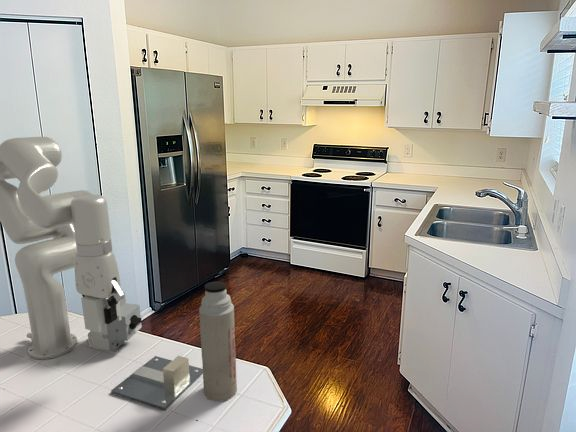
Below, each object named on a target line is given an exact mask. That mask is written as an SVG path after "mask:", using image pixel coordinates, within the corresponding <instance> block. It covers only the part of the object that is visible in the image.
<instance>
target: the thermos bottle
mask: <svg viewBox="0 0 576 432" xmlns="http://www.w3.org/2000/svg"><path fill="white" fill-rule="evenodd" d="M204 290H205V292H204V293H205V294H204V296H202V299H201V302H200V304H201V305H200V307H199V309H198V311H199V313H198V314H199V315H198V316H199V329H200V330H199V332H200V345H201V347H200V348H201V361H202V369H203V374H202V380H203V382H202V383H203V395H204V396H205V398H206V399H207V400H209V401H211V402H215V403H216V402H224V401H228V400H230V399H232V398H233V397H234V396H235V395H236V393H237V391H238V390H237V389H238V387H237V385H238V384H237V382H238V381H237V361H236V360H237V357H236V334H235V333H236V329H235V328H236V326H235V306H234V304H233V303H232V299H231V295H230V294H227V283H225V282H224V281H211V282H207V283H205V284H204Z"/></svg>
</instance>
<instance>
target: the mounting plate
mask: <svg viewBox="0 0 576 432" xmlns="http://www.w3.org/2000/svg"><path fill="white" fill-rule="evenodd" d="M189 363H190V362H189V357H185V356H182V355H177V356H176V357H175V358H174V359H173V360H172V359H169V358H164V357H160V356H157V355H155V356H154V357H152V358H150V359H149V360H148V361H147V362H146V363H145V364H143V365H141V366H140V367H138V369H136V370H135V371H134V372H132V374H130V375H129V376H128V377H126V378H125V379H124V380H123V381H121V382H120V383H119V384H117V385H116V386H114V388H112V389H111V390H110V393H111V394H113V395H116V396H119V397H122V398H125V399H128V400H131V401H134V402H138V403H140V404H144V405H146V406H149V407H151V408H155V409H159V410H160V411H161V410H162V411H164V412H165V411H166V410H168V408H170V407H171V405H173V404H174V403H175V402H176V401H177V400H178V399H179V398H180V397H181V396H182V394H184V393H185V392H186V391H187V390H188V389H189V388H190V387H191V386H192V385H193V384H194V383H195V382H196V381H197V380H198V379H199V378H200V377H201V376H203V368H201V367H196V366H193V365H190V364H189Z"/></svg>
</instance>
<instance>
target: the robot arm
mask: <svg viewBox="0 0 576 432" xmlns="http://www.w3.org/2000/svg"><path fill="white" fill-rule="evenodd" d="M62 156H63V155H62V149H61V147H60V145H59V144H58V142H56V140H54V139H53V138H50V137H48V136H30V137H14V138H13V137H12V138H9V139H6V140H4V141H3V142H2V143H0V223H1V226H2V227H3V229H4V232H5V233H6V235H7V236H8V238H9V240H10V241H11V242H13V243H14V244H17V245H25V244H28V245H25V246H23V247H22V248H20V249H19V250H18V251H17V252H16V253H15V256H14V263H15V267H16V270H17V272H18V274H19V277H20V280H21V281H20V282H21V284H22V288H23V291H24V292H23V293H24V297H25V303H26V308H27V313H28V321H29V326H30V327H29V328H30V332H28V333H27V334H26V338H29V339H30V340H31V344H30V345H29V346H28V348H27V355H28V356H29V357H30V358H32V359H35V360H49V359H54V358H58V357H60V356H63V355H65V354H67V353H69V352H71V351H72V350H73V349H74V348H75V347H76V346H77V345H78V337H77V336H76V335H75V334H73V333H71V329H70V328H71V327H70V321H69V315H68V306H67V302H66V299H67V298H66V294H65V293H66V292H65V288H64V285H63V284H62V283H61V282H60V281H58V280H57V279H55V278H54V277H53V276H54V275H56V274H59V273H61V272H64V271H68V270H70V269H74V282H75V289H76V292H77V293H78V294H80V295H81V297H84V296H91V297H95V298H100V299H103V301H104V304H105V307H106V308H105V309H104V315H105V323H106V324H110V323H111V322H113V321H115V320H116V319H117V310H116V305H117V304H118V302H119V301H120V300H121V299H122V298H124V297H125V298H126V294H125V295H124V293H123V292H124V291H123V290H122V289H121V278H120V271H119V268H118V263H117V260H116V257H115V254H114V253H115V252H113V244H112V243H113V242H112V236H111V235H112V233H111V227H110V219H109V208H108V201H107V199H106V197H105V196H104V195H101V194H93V193H91V191H88V190H84V189H82V190H81V189H80V190H75V191H67V192H62V193H53V194H47V195H42V194H43V193H44V192H46V191H49V189H51V188H52V187H53V186H54V185H55V184H56V183H57V180H58V176H59V171H58V169H57V168H58V166H59V165H60V164H61V161H62V160H63V159H62V158H63V157H62ZM12 179H13V180H14V179H17V180H18V181H19V182H20V183H19V185H18V187H17V186H16V185H14V184H12V183H10V182H8V181H6V180H12ZM30 243H31V244H30ZM109 297H111V300H110V302H109V299H108V298H109Z"/></svg>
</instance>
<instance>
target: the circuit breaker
mask: <svg viewBox="0 0 576 432" xmlns="http://www.w3.org/2000/svg"><path fill="white" fill-rule="evenodd" d="M122 292H123V293H124V295H125V297H124V298H122V299H121V300H120V309H121V318H122V320H120V321H118V320H115V321H113V322H111V323H110V324H106V323H105V324H103V325H102V326H101V328H102V331H101V332H100V333H99V332H95V331H91V330H89V332H88V333H87V339H88V340H87V341H88V344H89V349H92V347H93V349H95V350H102V349H103V351H113V352H115V351H116V350H118V348H119V347H121V346H122V345H123V344H125V342H129V340H130V339H131V338H132V337H133V336H134V335H135V334H137V333H138V332H139V331H140V330H141V329H142V322H143V320H142V319H143V318H142V316H141V307H140V304H136V303H135V304H133V303H126V302H127V301H126V293H125V291H122Z"/></svg>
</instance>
